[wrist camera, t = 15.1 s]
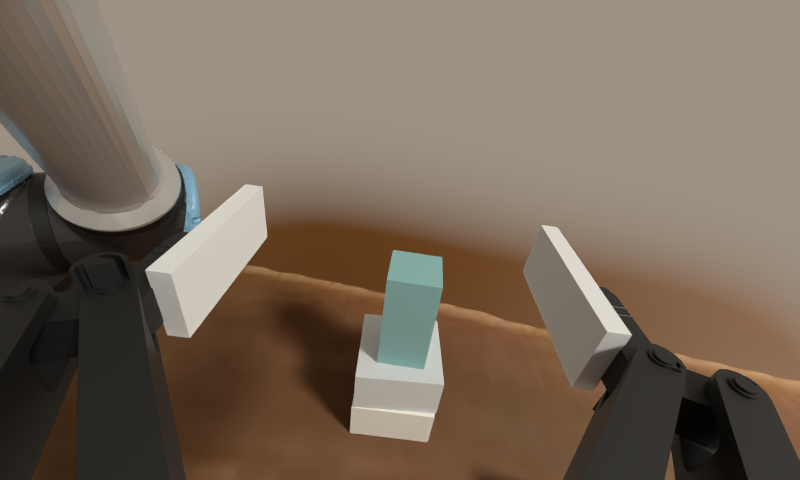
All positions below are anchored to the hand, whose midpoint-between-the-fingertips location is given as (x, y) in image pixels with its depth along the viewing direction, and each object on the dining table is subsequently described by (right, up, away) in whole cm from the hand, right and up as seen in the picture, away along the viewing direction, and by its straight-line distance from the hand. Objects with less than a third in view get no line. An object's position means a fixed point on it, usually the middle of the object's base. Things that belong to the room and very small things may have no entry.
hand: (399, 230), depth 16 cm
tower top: (0, -17, +24) cm, 29 cm away
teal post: (0, -12, +21) cm, 25 cm away
